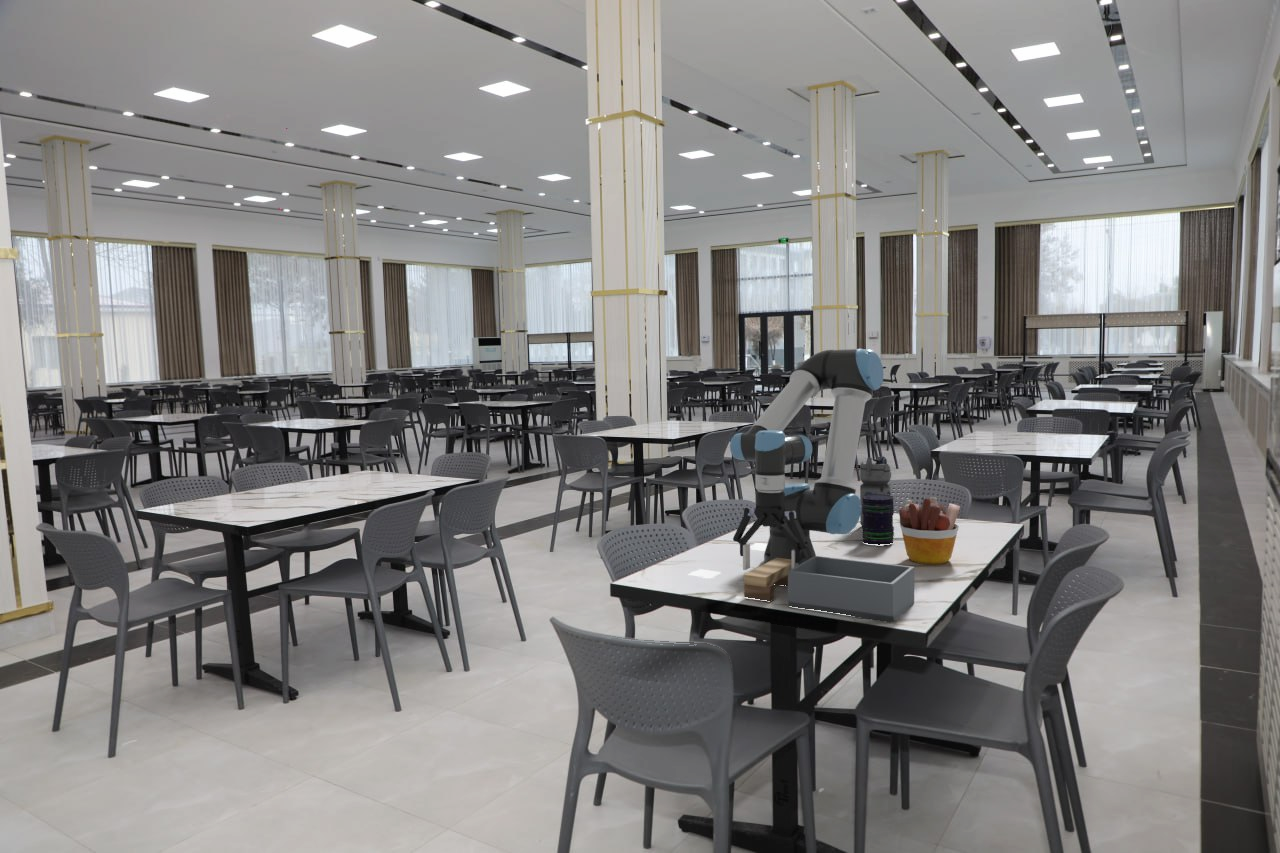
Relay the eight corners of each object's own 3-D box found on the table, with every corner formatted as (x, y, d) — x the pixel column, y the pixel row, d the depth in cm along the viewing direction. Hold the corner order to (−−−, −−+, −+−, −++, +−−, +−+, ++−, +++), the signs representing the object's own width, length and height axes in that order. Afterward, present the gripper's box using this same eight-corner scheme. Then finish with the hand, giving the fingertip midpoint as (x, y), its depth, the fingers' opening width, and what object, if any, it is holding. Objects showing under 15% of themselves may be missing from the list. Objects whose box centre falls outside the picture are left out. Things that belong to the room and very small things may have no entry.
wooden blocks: (769, 602, 215) (769, 586, 215) (744, 598, 219) (743, 583, 218) (797, 585, 230) (797, 570, 230) (773, 581, 234) (773, 567, 233)
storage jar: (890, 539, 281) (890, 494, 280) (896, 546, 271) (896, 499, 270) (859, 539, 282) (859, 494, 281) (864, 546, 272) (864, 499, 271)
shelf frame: (788, 607, 210) (787, 571, 210) (814, 589, 225) (814, 555, 224) (893, 622, 196) (893, 584, 196) (914, 602, 211) (914, 566, 210)
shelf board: (765, 587, 214) (765, 577, 214) (744, 584, 217) (743, 574, 217) (797, 569, 231) (797, 560, 231) (776, 566, 234) (776, 557, 234)
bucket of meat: (904, 551, 265) (903, 486, 263) (961, 554, 258) (961, 489, 256) (894, 566, 247) (894, 497, 245) (955, 571, 240) (956, 500, 238)
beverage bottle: (898, 525, 303) (898, 454, 301) (882, 532, 293) (881, 458, 291) (871, 522, 309) (871, 453, 307) (854, 528, 299) (853, 457, 297)
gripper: (720, 489, 226) (720, 569, 227) (810, 495, 212) (810, 580, 214) (733, 485, 232) (733, 563, 233) (821, 492, 218) (821, 574, 220)
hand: (770, 572), depth 224 cm, fingers open, 13 cm apart
